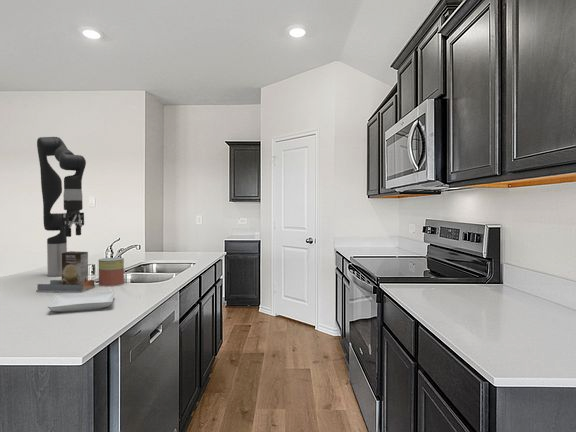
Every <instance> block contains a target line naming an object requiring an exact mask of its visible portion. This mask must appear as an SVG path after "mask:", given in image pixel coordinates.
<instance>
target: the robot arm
mask: <svg viewBox="0 0 576 432" xmlns="http://www.w3.org/2000/svg"><path fill="white" fill-rule="evenodd" d="M36 147H37V154H38V161H39V162H38V163H39V169H40V184H41V185H40V186H41V196H42V204H43V206H42V208H43V211H42V212H43V216H42V217H43V227H44V230H45V231H49V232H51V231H52V232H54V231H57V232H58V231H59V233H58V234H56V235H54V236H51V237H48V238H47V239H46V246H47V247H46V248H47V249H46V253H47V259H46V261H47V276H48V277H62V253H64V252H68V246H67V245H68V244H67V243H68V241H67V238H71V237H72V226H73V224H74V227H75V236H81V235H82V227H83V226H84V225H85V213H84V212H81V211H82V210H83V205H84V204H83V189H82V185H83V184H82V183H83V182H82V180H83V175H84V172H85V169H86V165H87V160H86V159H85V157H84V156H83V155H81V154H80V155H79V154H74V153H73V152H72V151H71V149H68V147H67V146H66V144H65V142H64V141H63V140H62V139H61V137H58V136H43V137H42V136H39V137H38V138H37V140H36ZM52 156H54V158H55V159H56V161H57V162H58V164H59V168H60V169H62V170H64V171H74V174H73V175H66V176H64V178H63V182H62V178H61V176H60V175H59V174H58V173H57V171H56V170H54V168H53V167H52V166H51V165H50V162H49V161H48V157H52ZM62 193H63V210H64V211H66V212H63V213H61V212H60V213H58V212H57V213H55V212H53V213H51V210H52V209H53V207H54V205H55V203H57V201H58V200H59V198H60V196H61V195H62Z"/></svg>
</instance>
